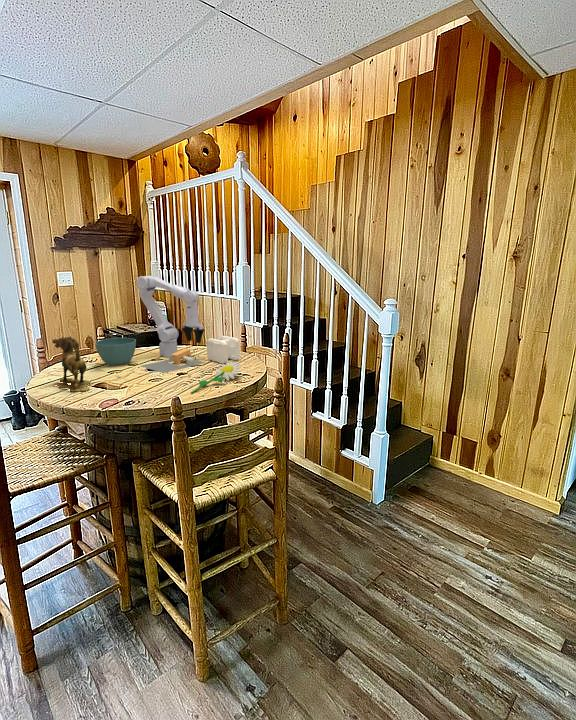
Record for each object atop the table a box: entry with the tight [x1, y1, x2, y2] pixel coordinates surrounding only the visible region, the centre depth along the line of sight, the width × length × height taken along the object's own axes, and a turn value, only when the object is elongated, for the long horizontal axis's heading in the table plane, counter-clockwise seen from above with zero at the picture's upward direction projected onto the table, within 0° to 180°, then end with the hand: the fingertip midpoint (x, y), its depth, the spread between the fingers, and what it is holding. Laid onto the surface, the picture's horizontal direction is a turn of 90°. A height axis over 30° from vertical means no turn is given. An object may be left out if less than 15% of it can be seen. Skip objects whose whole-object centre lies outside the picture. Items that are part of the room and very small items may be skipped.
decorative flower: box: [190, 361, 242, 394], centre depth 171 cm, size 13×5×30 cm
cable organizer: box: [206, 335, 240, 365], centre depth 207 cm, size 15×11×12 cm
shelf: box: [140, 353, 207, 374], centre depth 196 cm, size 20×24×5 cm
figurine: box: [51, 336, 92, 393], centre depth 167 cm, size 13×25×20 cm, turn 42°
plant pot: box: [94, 337, 137, 367], centre depth 199 cm, size 18×18×12 cm
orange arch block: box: [172, 348, 193, 365], centre depth 200 cm, size 4×8×6 cm, turn 139°
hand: (194, 341), depth 208 cm, fingers open, 7 cm apart
